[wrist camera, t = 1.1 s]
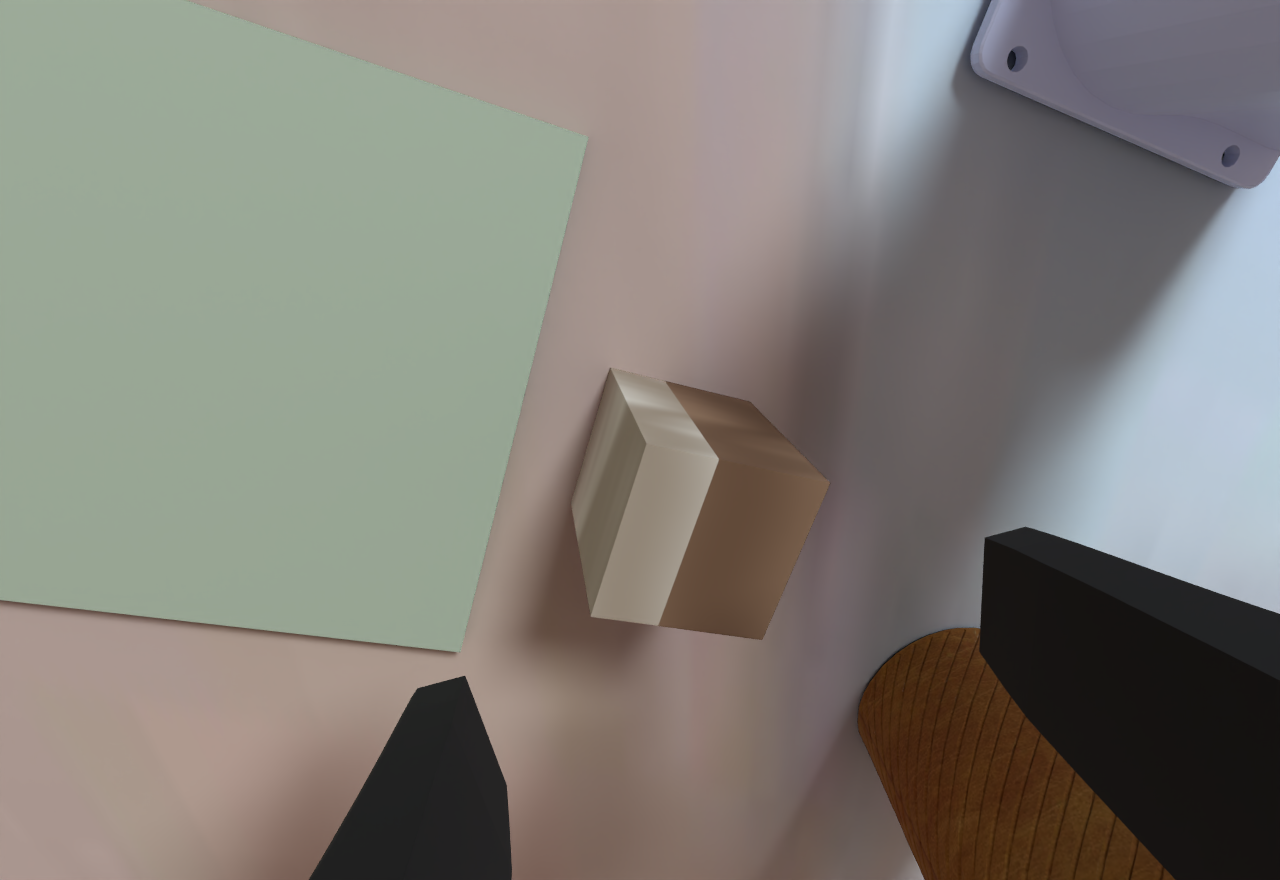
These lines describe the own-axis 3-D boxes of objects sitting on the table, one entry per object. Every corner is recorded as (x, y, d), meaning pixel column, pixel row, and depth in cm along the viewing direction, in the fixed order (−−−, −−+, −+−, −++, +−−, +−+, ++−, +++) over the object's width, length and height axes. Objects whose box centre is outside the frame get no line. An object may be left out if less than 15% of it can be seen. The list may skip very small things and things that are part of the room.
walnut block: (749, 401, 18) (830, 483, 13) (703, 527, 19) (762, 639, 15) (610, 367, 17) (646, 443, 12) (570, 503, 18) (590, 616, 14)
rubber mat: (586, 137, 15) (588, 136, 14) (461, 640, 19) (460, 652, 19) (-78, -88, 11) (-102, -97, 11) (-40, 581, 16) (-56, 593, 16)
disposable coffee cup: (1106, 624, 24) (1600, 1008, 13) (962, 809, 27) (1272, 1254, 16) (906, 554, 21) (1330, 974, 10) (766, 769, 24) (982, 1284, 13)
